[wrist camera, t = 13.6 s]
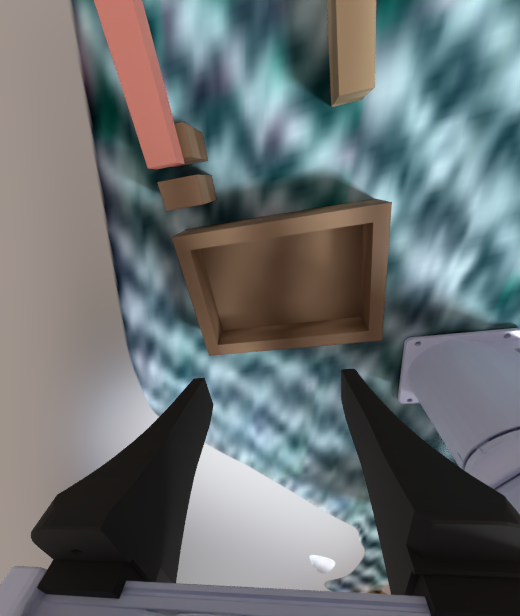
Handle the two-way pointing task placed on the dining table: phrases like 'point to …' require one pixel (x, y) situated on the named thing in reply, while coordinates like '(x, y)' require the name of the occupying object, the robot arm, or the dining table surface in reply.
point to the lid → (351, 49)
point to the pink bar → (141, 80)
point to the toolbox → (281, 269)
